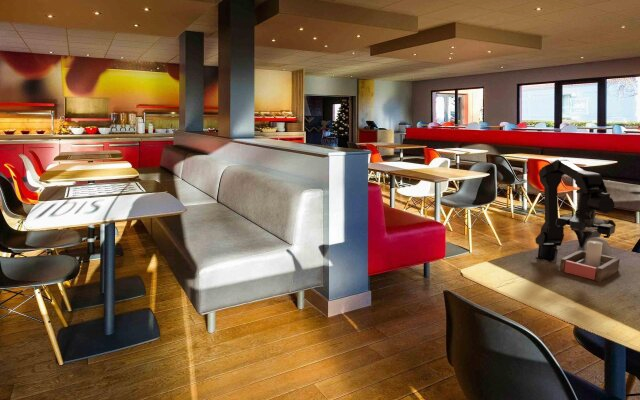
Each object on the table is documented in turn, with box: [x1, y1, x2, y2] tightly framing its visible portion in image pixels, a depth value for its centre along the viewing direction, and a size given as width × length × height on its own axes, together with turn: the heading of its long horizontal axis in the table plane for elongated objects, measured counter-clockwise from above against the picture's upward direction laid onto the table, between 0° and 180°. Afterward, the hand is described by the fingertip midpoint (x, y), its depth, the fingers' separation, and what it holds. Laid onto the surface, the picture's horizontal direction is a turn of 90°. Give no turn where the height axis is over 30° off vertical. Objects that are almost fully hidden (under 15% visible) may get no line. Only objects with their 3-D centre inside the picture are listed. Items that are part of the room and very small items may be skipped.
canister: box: [585, 241, 603, 268], centre depth 181 cm, size 5×5×10 cm
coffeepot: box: [576, 213, 617, 252], centre depth 201 cm, size 15×9×18 cm, turn 70°
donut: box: [584, 236, 612, 256], centre depth 193 cm, size 10×4×10 cm, turn 40°
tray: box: [563, 258, 605, 281], centre depth 179 cm, size 11×17×4 cm, turn 130°
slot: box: [559, 250, 621, 282], centre depth 180 cm, size 15×18×5 cm
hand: (581, 247), depth 172 cm, fingers closed
